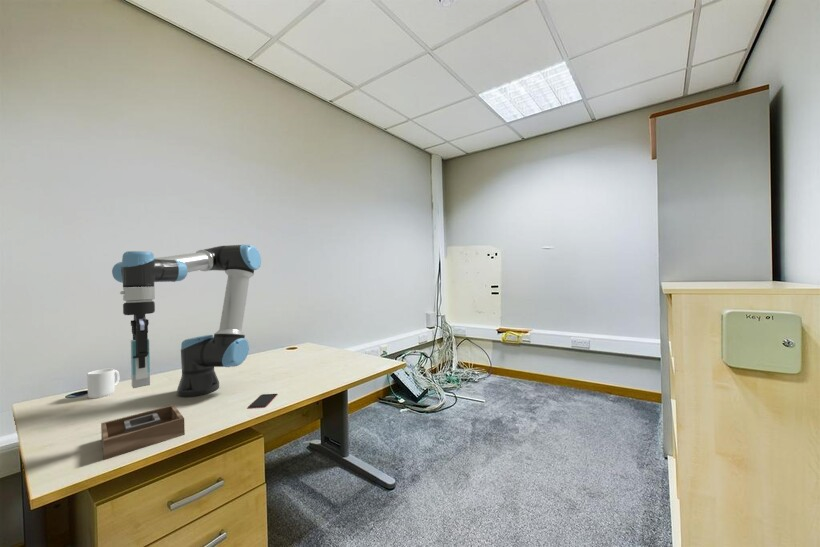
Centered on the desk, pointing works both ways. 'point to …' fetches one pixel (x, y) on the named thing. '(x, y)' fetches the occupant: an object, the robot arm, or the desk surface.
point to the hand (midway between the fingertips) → (140, 376)
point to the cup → (102, 382)
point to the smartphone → (262, 401)
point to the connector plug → (133, 368)
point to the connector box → (141, 430)
